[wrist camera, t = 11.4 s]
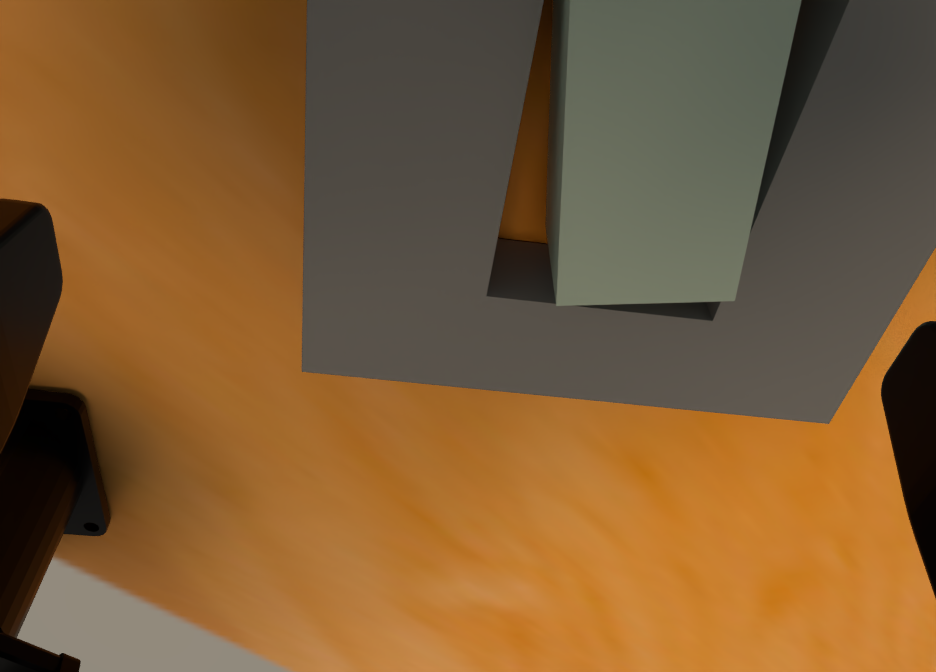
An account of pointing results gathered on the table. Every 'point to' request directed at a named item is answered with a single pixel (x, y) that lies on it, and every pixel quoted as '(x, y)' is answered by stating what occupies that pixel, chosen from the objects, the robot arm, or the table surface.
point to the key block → (659, 144)
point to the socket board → (528, 264)
